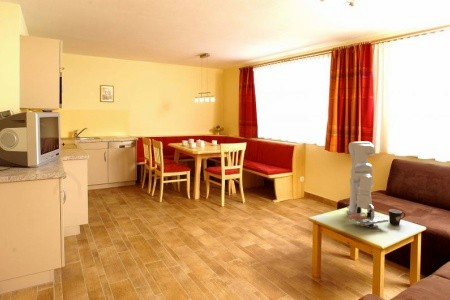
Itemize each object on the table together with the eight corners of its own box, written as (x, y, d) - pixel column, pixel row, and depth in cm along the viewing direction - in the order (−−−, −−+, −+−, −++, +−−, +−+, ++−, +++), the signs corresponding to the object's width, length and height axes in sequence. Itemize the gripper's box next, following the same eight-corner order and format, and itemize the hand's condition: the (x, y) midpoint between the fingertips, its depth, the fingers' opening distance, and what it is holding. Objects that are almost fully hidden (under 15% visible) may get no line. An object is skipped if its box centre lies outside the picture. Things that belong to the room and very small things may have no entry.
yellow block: (357, 225, 220) (358, 214, 219) (365, 224, 222) (365, 214, 221) (360, 226, 217) (361, 216, 216) (367, 225, 219) (368, 215, 218)
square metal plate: (346, 223, 226) (347, 208, 224) (368, 220, 233) (369, 205, 231) (364, 232, 209) (365, 216, 207) (387, 228, 216) (389, 212, 214)
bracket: (346, 218, 217) (346, 214, 217) (355, 217, 220) (355, 213, 220) (352, 221, 212) (352, 216, 211) (361, 219, 214) (361, 215, 214)
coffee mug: (388, 225, 223) (389, 212, 222) (387, 221, 231) (387, 208, 230) (406, 227, 219) (407, 214, 218) (404, 223, 227) (405, 210, 226)
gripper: (352, 190, 223) (351, 212, 225) (370, 195, 207) (368, 219, 209) (360, 189, 226) (358, 211, 228) (378, 195, 210) (377, 218, 212)
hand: (363, 215), depth 218 cm, fingers open, 9 cm apart
